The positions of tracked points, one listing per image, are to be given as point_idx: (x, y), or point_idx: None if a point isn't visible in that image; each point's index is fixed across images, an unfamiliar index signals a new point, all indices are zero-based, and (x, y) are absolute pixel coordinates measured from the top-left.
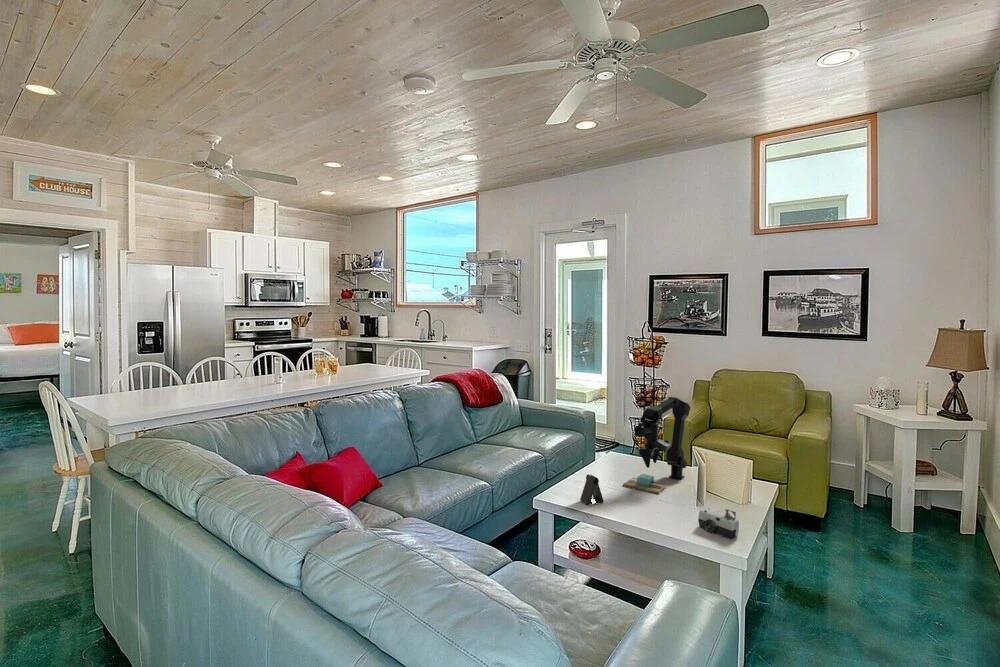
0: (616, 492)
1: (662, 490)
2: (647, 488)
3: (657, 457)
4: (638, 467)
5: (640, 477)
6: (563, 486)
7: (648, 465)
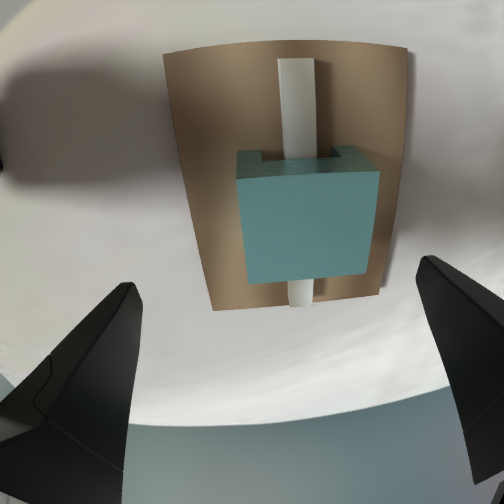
0: (469, 264)
1: (314, 40)
2: (376, 147)
3: (68, 339)
4: (42, 340)
5: (362, 252)
6: None
7: (457, 279)
